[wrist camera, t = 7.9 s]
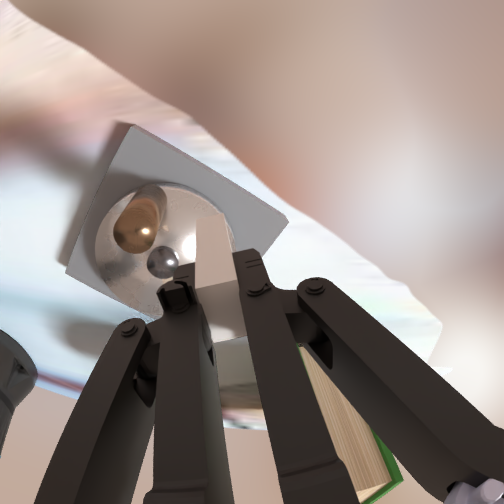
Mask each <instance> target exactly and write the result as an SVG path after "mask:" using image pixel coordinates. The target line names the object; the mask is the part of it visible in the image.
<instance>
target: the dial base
mask: <svg viewBox="0 0 504 504" xmlns="http://www.w3.org/2000/svg"><path fill="white" fill-rule="evenodd" d="M154 183H174V184H180V185H184V186H187V187H190V188H193V189H195V190H197V191H199V192H201V193H202V194H204V195H206V196H207V197H208V198H210V199H211V200H212V201H213V202H214V203H215V204H216V205H217V206H218V207H219V208H220V209H221V210H222V212H223V213H224V215H225V216H226V218H227V219H228V221H229V223H230V226H231V229H232V232H233V236H234V241H235V246H236V252H238V251H242V250H246V249H251V248H254V249H255V250H257V251H258V252H260V255H261V258H262V257H263V255H264V254H265V253H266V251H267V250H268V249H269V248H270V246H271V245H272V244H273V242H274V241H275V240H276V238H277V237H278V236H279V235H280V233H281V232H282V231H283V229H284V228H285V227H286V226H287V224H288V223H289V221H288V220H287V218H286V216H285V215H284V214H282V213H281V212H279V211H278V210H276V209H275V208H273V207H272V206H270V205H268V204H267V203H265V202H264V201H262V200H261V199H259V198H257V197H256V196H254V195H253V194H251V193H250V192H248V191H246V190H245V189H243V188H242V187H240V186H238V185H237V184H235V183H234V182H232V181H230V180H229V179H227V178H226V177H224V176H222V175H221V174H219V173H217V172H216V171H214V170H213V169H211V168H209V167H208V166H206V165H204V164H203V163H201V162H199V161H198V160H196V159H194V158H193V157H191V156H189V155H188V154H186V153H184V152H183V151H181V150H179V149H177V148H176V147H174V146H172V145H171V144H169V143H167V142H165V141H164V140H162V139H160V138H159V137H157V136H155V135H153V134H152V133H150V132H148V131H146V130H145V129H143V128H141V127H139V126H137V125H133V126H131V127H130V129H129V131H128V132H127V134H126V136H125V138H124V140H123V141H122V143H121V145H120V147H119V149H118V151H117V153H116V154H115V156H114V158H113V160H112V162H111V164H110V166H109V168H108V170H107V172H106V174H105V176H104V178H103V180H102V183H101V185H100V187H99V189H98V191H97V193H96V195H95V198H94V200H93V202H92V204H91V207H90V209H89V211H88V214H87V216H86V218H85V221H84V223H83V226H82V228H81V231H80V233H79V236H78V238H77V241H76V243H75V246H74V249H73V251H72V254H71V257H70V260H69V263H68V266H67V268H66V271H65V273H66V274H67V275H69V276H71V277H73V278H75V279H76V280H78V281H80V282H82V283H84V284H86V285H88V286H89V287H91V288H93V289H95V290H97V291H99V292H101V293H103V294H105V295H107V296H109V297H111V298H113V299H114V300H116V301H118V302H120V303H123V304H125V305H127V304H126V303H124V302H123V301H121V300H120V299H119V298H118V297H117V296H116V295H115V294H114V293H113V292H112V291H111V290H110V289H109V287H108V286H107V285H106V283H105V282H104V280H103V278H102V277H101V274H100V272H99V269H98V266H97V263H96V257H95V242H96V236H97V232H98V229H99V227H100V225H101V223H102V221H103V219H104V218H105V216H106V215H107V213H108V212H109V211H110V209H111V208H112V207H113V205H114V204H115V203H116V202H117V201H118V200H119V199H120V198H122V197H123V196H124V195H126V194H127V193H129V192H130V191H132V190H134V189H136V188H139V187H141V186H144V185H147V184H154ZM127 306H129V305H127ZM129 307H130V306H129ZM131 308H132V307H131ZM133 309H134V308H133ZM135 310H136V309H135ZM137 311H138V310H137ZM139 312H141V311H139ZM141 313H143V314H145V315H147V316H150V317H152V318H154V319H156V320H157V319H159V318H161V316H155V315H151V314H147V313H144V312H141Z"/></svg>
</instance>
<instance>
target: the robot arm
mask: <svg viewBox="0 0 504 504" xmlns="http://www.w3.org/2000/svg"><path fill="white" fill-rule="evenodd" d="M156 294H157V297H158V299H159V301H160V304H161V306H162V308H163V316H162V317H161V318H159V319H157V320H155V321H153V322H151V323H148V324H145V322H144V321H143V320H142V319H139V318H132V319H128V320H125V321H123V322H122V323H121V324H119V325H118V326H117V328H116V329H115V330H114V332H113V334H112V336H111V337H110V339H109V341H108V343H107V345H106V346H105V348H104V350H103V352H102V354H101V356H100V358H99V360H98V361H97V363H96V365H95V367H94V369H93V371H92V373H91V375H90V377H89V379H88V381H87V383H86V385H85V387H84V389H83V391H82V393H81V395H80V397H79V399H78V401H77V403H76V405H75V407H74V409H73V411H72V413H71V416H70V418H69V420H68V422H67V424H66V426H65V428H64V431H63V433H62V435H61V437H60V440H59V442H58V444H57V447H56V449H55V451H54V454H53V456H52V458H51V460H50V463H49V466H48V468H47V470H46V473H45V475H44V478H43V480H42V483H41V486H40V488H39V491H38V493H37V496H36V499H35V502H34V504H131V501H132V498H133V494H134V490H135V487H136V483H137V480H138V476H139V473H140V469H141V466H142V462H143V459H144V456H145V452H146V449H147V446H148V442H149V439H150V436H151V432H152V429H153V426H154V457H153V488H152V490H150V491H149V492H147V493H146V494H145V497H144V499H143V504H234V497H233V491H232V485H231V478H230V471H229V464H228V458H227V450H226V443H225V435H224V427H223V419H222V411H221V402H220V394H219V385H218V376H217V366H216V356H215V351H214V348H213V345H212V339H213V342H214V343H216V342H220V341H225V340H230V339H234V338H239V337H244V336H247V337H248V342H249V346H250V351H251V356H252V361H253V365H254V370H255V375H256V379H257V384H258V388H259V393H260V398H261V402H262V407H263V411H264V416H265V420H266V425H267V429H268V433H269V438H270V442H271V446H272V451H273V455H274V459H275V464H276V468H277V472H278V480H279V485H280V489H281V493H282V498H283V502H284V504H360V502H359V499H358V496H357V494H356V491H355V488H354V486H353V483H352V480H351V477H350V475H349V472H348V470H347V468H346V466H345V464H344V462H343V461H342V460H341V459H340V458H339V457H338V455H337V453H336V450H335V447H334V445H333V442H332V439H331V436H330V434H329V431H328V428H327V425H326V423H325V420H324V417H323V415H322V412H321V409H320V406H319V404H318V401H317V398H316V396H315V393H314V390H313V387H312V385H311V382H310V379H309V377H308V374H307V371H306V369H305V366H304V363H303V360H302V358H301V355H300V352H299V350H298V347H297V344H296V343H302V344H303V346H304V348H305V349H306V350H307V352H308V353H309V354H310V355H311V356H312V358H313V359H314V360H315V361H316V363H317V364H318V365H319V366H320V367H321V369H322V370H323V371H324V372H325V374H326V375H327V376H328V377H329V378H330V380H331V381H332V382H333V383H334V384H335V386H336V387H337V388H338V389H339V391H340V392H341V393H342V394H343V395H344V397H345V398H346V399H347V400H348V401H349V403H350V404H351V405H352V406H353V407H354V409H355V410H356V411H357V412H358V413H359V414H360V416H361V417H362V418H363V419H364V420H365V422H366V423H367V424H368V425H369V426H370V428H371V429H372V430H373V431H374V432H375V433H376V435H377V436H378V437H379V438H380V439H381V441H382V442H383V443H384V444H385V445H386V446H387V448H388V449H389V450H390V451H391V452H392V453H393V455H394V456H395V457H396V458H397V459H398V460H399V462H400V463H401V464H402V465H403V466H404V467H405V469H406V470H407V471H408V472H409V473H410V474H411V475H412V477H413V478H414V479H415V480H416V481H417V482H418V483H419V484H420V485H421V486H422V487H423V488H424V489H425V490H426V491H427V492H428V493H430V494H431V495H432V496H434V497H435V498H436V499H438V500H440V501H441V502H443V504H504V429H502V428H499V427H497V426H494V425H493V424H492V423H491V422H490V421H489V420H488V419H487V418H486V417H485V416H484V415H483V414H482V413H481V412H479V411H478V410H477V409H476V408H475V407H474V406H473V405H472V404H471V403H469V401H467V400H466V399H465V398H464V397H463V396H462V395H461V394H460V393H459V392H458V391H456V390H455V389H454V388H453V387H452V386H451V385H450V384H449V383H448V382H446V381H445V380H444V379H443V378H442V377H441V376H440V375H439V374H438V373H436V372H435V371H434V370H433V369H432V368H431V367H430V366H429V365H428V364H426V363H425V362H424V361H423V360H422V359H421V358H420V357H418V356H417V355H416V354H415V353H414V352H413V351H412V350H410V349H409V348H408V347H407V346H406V345H405V344H404V343H402V342H401V341H400V340H399V339H398V338H397V337H396V336H394V335H393V334H392V333H391V332H390V331H389V330H387V329H386V328H385V327H384V326H383V325H382V324H380V323H379V322H378V321H377V320H376V319H375V318H373V317H372V316H371V315H370V314H369V313H368V312H366V311H365V310H364V309H363V308H362V307H361V306H359V305H358V304H357V303H356V302H355V301H353V300H352V299H351V298H350V297H349V296H347V295H346V294H345V293H344V292H343V291H342V290H340V289H339V288H338V287H337V286H336V285H334V284H333V283H332V282H331V281H329V280H327V279H325V278H320V277H315V278H309V279H305V280H304V281H302V282H300V284H299V285H298V286H297V290H283V289H279V288H276V287H275V286H274V285H273V284H272V283H271V282H270V279H269V277H268V274H267V271H266V269H265V266H264V263H263V260H262V258H261V255H260V252H258V251H257V250H255V249H254V248H251V249H246V250H242V251H238V252H233V253H232V249H231V244H230V240H229V236H228V231H227V227H226V222H225V218H224V213H221V214H216V215H212V216H207V217H203V218H199V219H196V244H195V262H193V263H188V264H184V265H180V266H178V267H177V269H176V270H175V271H174V274H173V280H171V281H168V282H166V283H164V284H163V285H162V286H160V287H159V288H158V290H157V292H156ZM211 336H212V339H211ZM36 380H37V369H36V367H35V365H34V363H33V361H32V359H31V358H30V356H29V355H28V354H27V352H26V351H25V350H24V349H23V348H22V347H21V346H20V345H19V344H18V343H17V342H16V341H15V340H13V339H12V338H11V337H10V336H8V335H7V334H5V333H4V332H2V331H1V330H0V455H1V451H2V448H3V444H4V441H5V437H6V434H7V431H8V428H9V425H10V421H11V419H12V416H13V413H14V410H15V408H16V407H17V406H18V405H19V403H20V402H22V400H23V399H24V398H25V397H26V396H27V395H28V394H29V393H30V392H31V391H32V389H33V388H34V385H35V383H36ZM0 458H1V456H0Z"/></svg>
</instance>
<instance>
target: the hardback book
mask: <svg viewBox="0 0 504 504" xmlns="http://www.w3.org/2000/svg"><path fill="white" fill-rule="evenodd" d="M296 344H297V343H296ZM297 347H298V350H299V352H300V355H301V358H302V360H303V363H304V366H305V369H306V371H307V374H308V377H309V379H310V382H311V385H312V387H313V390H314V393H315V396H316V398H317V401H318V404H319V406H320V409H321V412H322V415H323V417H324V420H325V423H326V425H327V428H328V431H329V434H330V436H331V439H332V442H333V445H334V447H335V450H336V453H337V455H338V457H339V458H340V459H341V460H342V461H343V462H344V464H345V466H346V468H347V470H348V472H349V475H350V477H351V480H352V483H353V486H354V488H355V491H356V494H357V496H358V499H359V502H360V504H372V503H374V502H375V501H377V500H378V499H380V498H381V497H382V496H384V495H385V494H386V493H388V492H389V491H391V490H392V489H393V488H394V487H396V486H397V485H398V484H400V483H401V482H402V481H403V477H402V475H401V473H400V470H399V468H398V465H397V463H396V461H395V459H394V456H393V454H392V452H391V451H390V450H389V449H388V448H387V446H386V445H385V444H384V443H383V442H382V441H381V439H380V438H379V437H378V436H377V435H376V433H375V432H374V431H373V430H372V429H371V428H370V426H369V425H368V424H367V423H366V422H365V420H364V419H363V418H362V417H361V416H360V414H359V413H358V412H357V411H356V410H355V409H354V407H353V406H352V405H351V404H350V403H349V401H348V400H347V399H346V398H345V397H344V395H343V394H342V393H341V392H340V391H339V389H338V388H337V387H336V386H335V384H334V383H333V382H332V381H331V380H330V378H329V377H328V376H327V375H326V374H325V372H324V371H323V370H322V369H321V367H320V366H319V365H318V364H317V363H316V361H315V360H314V359H313V358H312V356H311V355H310V354H309V353H308V352H307V350H306V349H305V348H304V347H299V346H298V344H297Z"/></svg>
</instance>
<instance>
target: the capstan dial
mask: <svg viewBox="0 0 504 504" xmlns="http://www.w3.org/2000/svg"><path fill="white" fill-rule="evenodd" d="M221 213H223V212H222V210H221V209H220V208H219V207H218V206H217V205H216V204H215V203H214V202H213V201H212V200H211V199H210V198H208V197H207V196H206V195H204V194H202V193H201V192H199V191H197V190H195V189H193V188H190V187H187V186H184V185H180V184H174V183H154V184H147V185H144V186H141V187H139V188H136V189H134V190H132V191H130V192H129V193H127V194H126V195H124V196H123V197H122V198H120V199H119V200H118V201H117V202H116V203H115V204H114V205H113V207H112V208H111V209H110V211H109V212H108V213H107V215H106V216H105V218H104V219H103V221H102V223H101V225H100V227H99V229H98V232H97V236H96V242H95V257H96V263H97V266H98V269H99V272H100V274H101V277H102V278H103V280H104V282H105V283H106V285H107V286H108V287H109V289H110V290H111V291H112V292H113V293H114V294H115V295H116V296H117V297H118V298H119V299H120V300H121V301H123V302H124V303H126V304H127V305H129V306H130V307H132V308H134V309H136V310H138V311H141V312H144V313H147V314H151V315H155V316H161V317H162V316H163V308H162V306H161V304H160V301H159V299H158V297H157V294H156V292H157V290H158V288H159V287H160V286H162V285H163V284H164V283H166V282H168V281H171V280H173V274H174V271H175V270H176V269H177V267H178V266H180V265H184V264H188V263H193V262H195V244H196V219H199V218H203V217H207V216H212V215H216V214H221ZM224 218H225V222H226V227H227V231H228V236H229V240H230V244H231V249H232V253H233V252H236V246H235V241H234V236H233V232H232V229H231V226H230V223H229V221H228V219H227V218H226V216H225V215H224Z"/></svg>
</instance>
